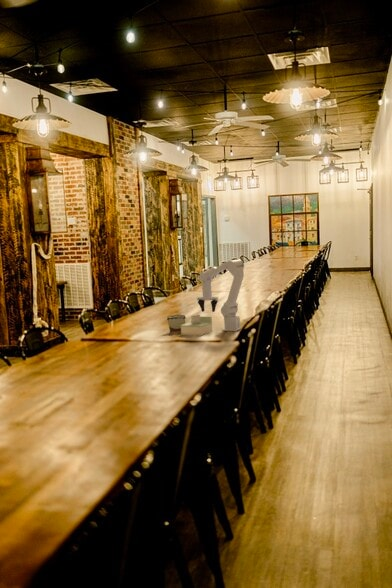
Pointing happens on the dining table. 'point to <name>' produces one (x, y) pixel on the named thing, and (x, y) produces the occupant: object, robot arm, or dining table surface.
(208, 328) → the box
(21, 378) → the dining table surface
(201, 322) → the lid
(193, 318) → the cream rounded piece
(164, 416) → the dining table surface
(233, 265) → the robot arm
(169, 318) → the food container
